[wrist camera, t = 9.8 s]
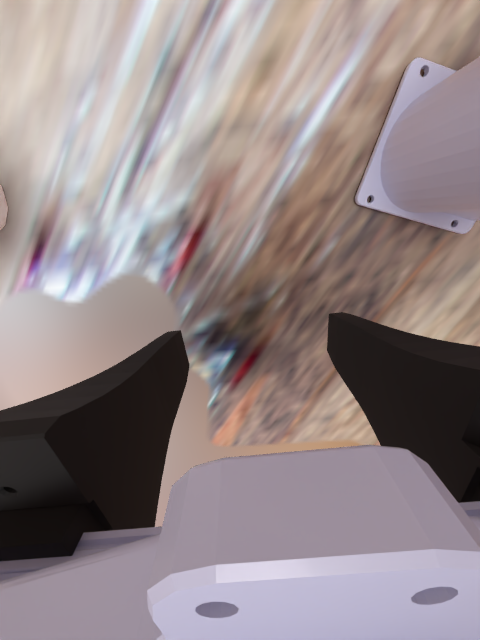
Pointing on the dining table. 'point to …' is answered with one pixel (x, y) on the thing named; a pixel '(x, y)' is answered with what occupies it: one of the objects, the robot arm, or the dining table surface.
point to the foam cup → (3, 208)
